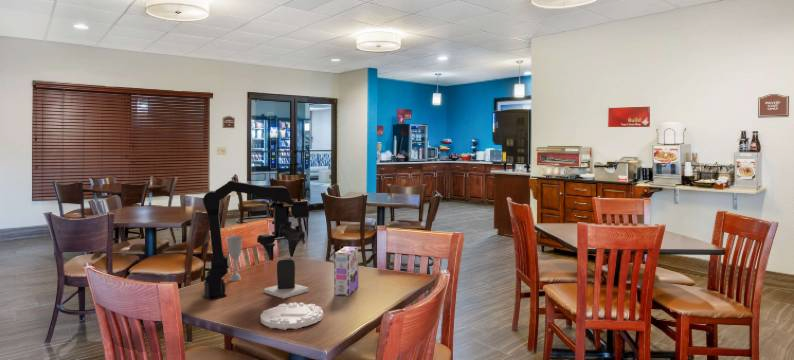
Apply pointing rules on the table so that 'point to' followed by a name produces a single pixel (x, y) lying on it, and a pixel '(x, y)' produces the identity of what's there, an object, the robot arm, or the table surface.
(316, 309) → the white round plaque
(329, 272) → the table surface
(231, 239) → the chalice
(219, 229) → the robot arm
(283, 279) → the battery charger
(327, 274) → the table surface
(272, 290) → the tray
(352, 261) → the candy box
